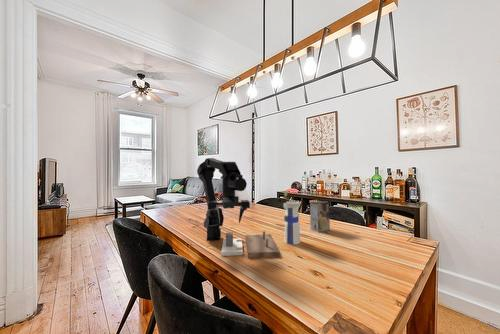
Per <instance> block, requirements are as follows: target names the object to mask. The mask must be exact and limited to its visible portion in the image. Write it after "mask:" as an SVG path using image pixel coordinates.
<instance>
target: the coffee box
mask: <svg viewBox="0 0 500 334" xmlns="http://www.w3.org/2000/svg"><path fill="white" fill-rule="evenodd" d="M309 210H310V211H309V213H310V215H309V217H310V223H309V224H310V231H314V232H316V233H321V232H322V233H323V232H326V231H330V230H331V227H330V225H331V222H330V221H331V220H330V215H331V214H330V202H329V201H324V200H317V201H316V200H315V201H310V202H309Z"/></svg>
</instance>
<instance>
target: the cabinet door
mask: <svg viewBox="0 0 500 334" xmlns="http://www.w3.org/2000/svg"><path fill="white" fill-rule="evenodd" d="M233 235H234V232H226V234H225V238H223V240H222V246H221V253H220V254H221V257H225V256H226V257H229V256H243V255H244V250H243V239H242V238H239V237H238V238H234V236H233Z"/></svg>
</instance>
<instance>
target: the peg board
mask: <svg viewBox="0 0 500 334" xmlns="http://www.w3.org/2000/svg"><path fill="white" fill-rule="evenodd" d="M244 238H245V244H246V245H245V246H246V254H247V258H248V259H251V258H255V259H256V258H257V259H258V258H277V257H278V258H279V257H280V255H281V254H280V250H279V247H277V244H276V242H275V240H274V238H273V236H272V234H270V233H269V234H268V233H267V234H266V231H265V230H264V231H262V234H245V237H244Z"/></svg>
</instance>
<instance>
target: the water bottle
mask: <svg viewBox="0 0 500 334" xmlns="http://www.w3.org/2000/svg"><path fill="white" fill-rule="evenodd" d="M288 193H289V191H287V190H285V192H283V194H284V197H288ZM299 207H301V203H300V201H293V200H289V201H288V200H287V201H286V202H284V203H283V209H284V210H285V212H284V216H283V219H284V220H283V221H284V222H285V223H284V243H286V244H288V245H291V246H292V245H293V246H294V245H299V244H301V234H300V233H301V231H300V229H301V228H300V227H301V226H300V222H299V221H300V220H299V217H300V213H299Z"/></svg>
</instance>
